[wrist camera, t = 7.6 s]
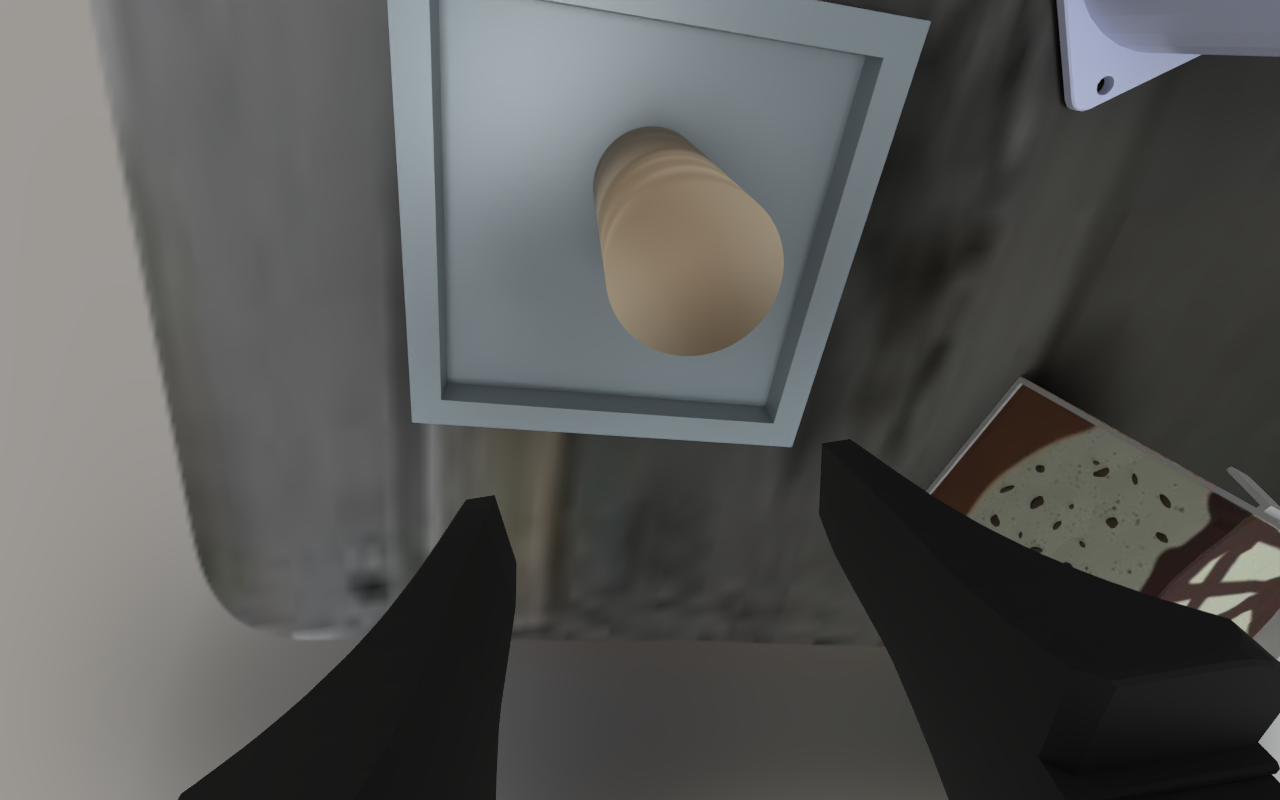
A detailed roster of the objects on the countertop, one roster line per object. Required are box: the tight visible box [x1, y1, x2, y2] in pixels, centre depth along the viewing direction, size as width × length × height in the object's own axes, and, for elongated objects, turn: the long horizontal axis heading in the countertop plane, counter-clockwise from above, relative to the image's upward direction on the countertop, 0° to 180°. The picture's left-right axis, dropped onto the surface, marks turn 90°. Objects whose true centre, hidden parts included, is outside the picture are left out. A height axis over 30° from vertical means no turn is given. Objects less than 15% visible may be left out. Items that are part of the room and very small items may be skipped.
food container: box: [926, 376, 1280, 661], centre depth 23 cm, size 12×6×10 cm, turn 156°
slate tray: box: [387, 0, 931, 447], centre depth 19 cm, size 14×14×2 cm
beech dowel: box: [593, 126, 784, 356], centre depth 15 cm, size 4×4×8 cm
